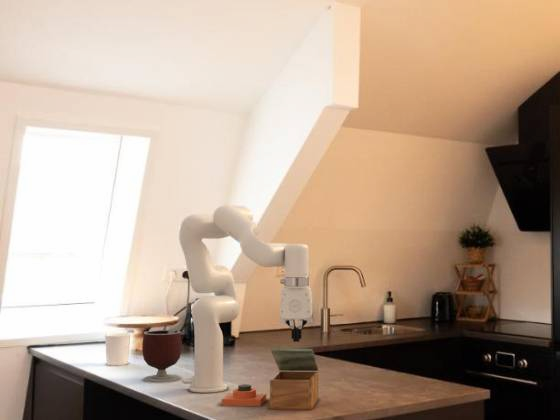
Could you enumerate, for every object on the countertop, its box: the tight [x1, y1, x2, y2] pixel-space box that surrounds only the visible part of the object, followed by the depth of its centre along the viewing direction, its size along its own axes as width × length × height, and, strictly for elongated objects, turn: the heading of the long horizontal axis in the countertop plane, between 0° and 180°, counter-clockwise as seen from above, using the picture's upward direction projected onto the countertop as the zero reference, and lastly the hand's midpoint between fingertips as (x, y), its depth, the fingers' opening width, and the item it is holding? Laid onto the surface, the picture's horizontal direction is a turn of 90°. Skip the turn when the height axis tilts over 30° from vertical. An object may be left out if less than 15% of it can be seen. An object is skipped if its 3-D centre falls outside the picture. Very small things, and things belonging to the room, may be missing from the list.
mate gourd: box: [141, 321, 183, 383], centre depth 280 cm, size 16×14×20 cm
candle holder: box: [104, 332, 131, 366], centre depth 313 cm, size 10×10×12 cm
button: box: [237, 383, 252, 391], centre depth 239 cm, size 4×4×2 cm
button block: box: [221, 387, 267, 407], centre depth 239 cm, size 12×9×4 cm
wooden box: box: [269, 370, 319, 411], centre depth 237 cm, size 16×13×9 cm
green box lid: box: [270, 348, 319, 372], centre depth 238 cm, size 16×13×1 cm
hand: (296, 341), depth 240 cm, fingers closed
